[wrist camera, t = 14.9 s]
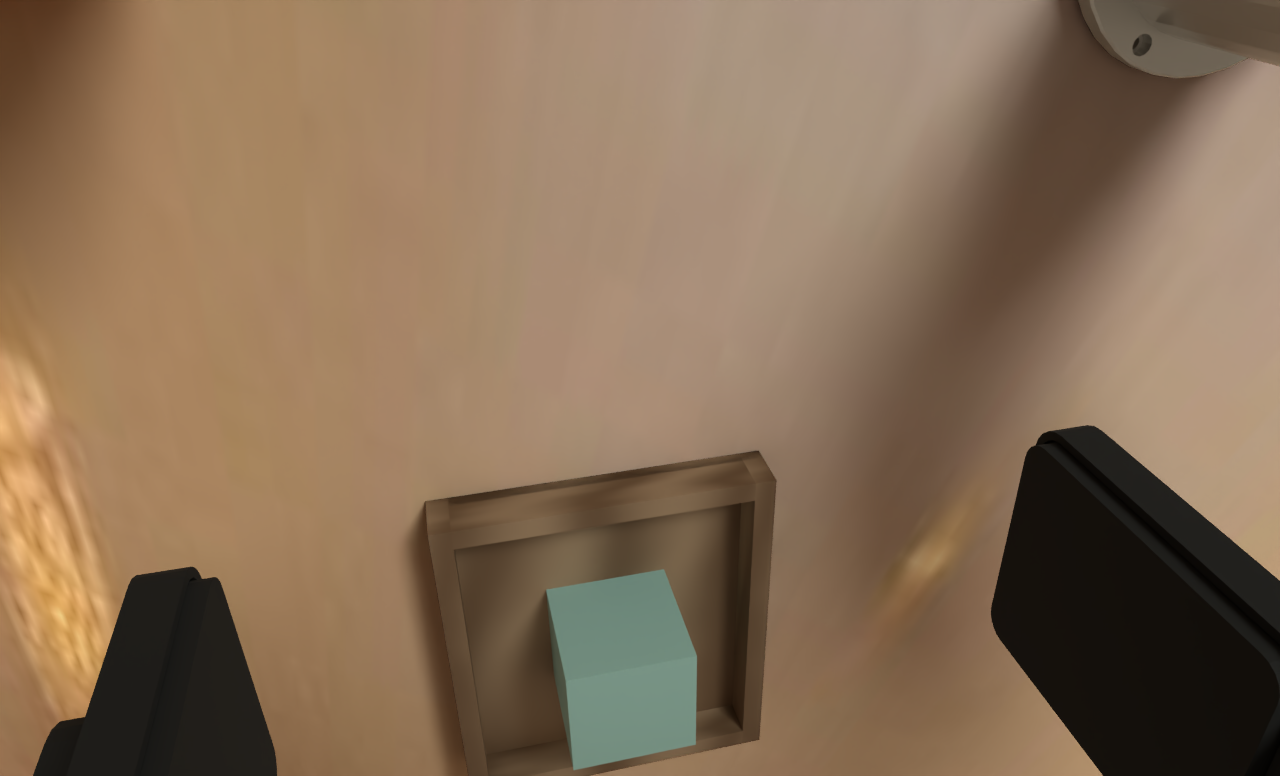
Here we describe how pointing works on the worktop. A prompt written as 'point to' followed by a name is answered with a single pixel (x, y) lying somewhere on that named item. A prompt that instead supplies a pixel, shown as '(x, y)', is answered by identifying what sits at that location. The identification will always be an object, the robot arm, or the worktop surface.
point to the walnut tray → (591, 551)
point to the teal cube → (622, 668)
